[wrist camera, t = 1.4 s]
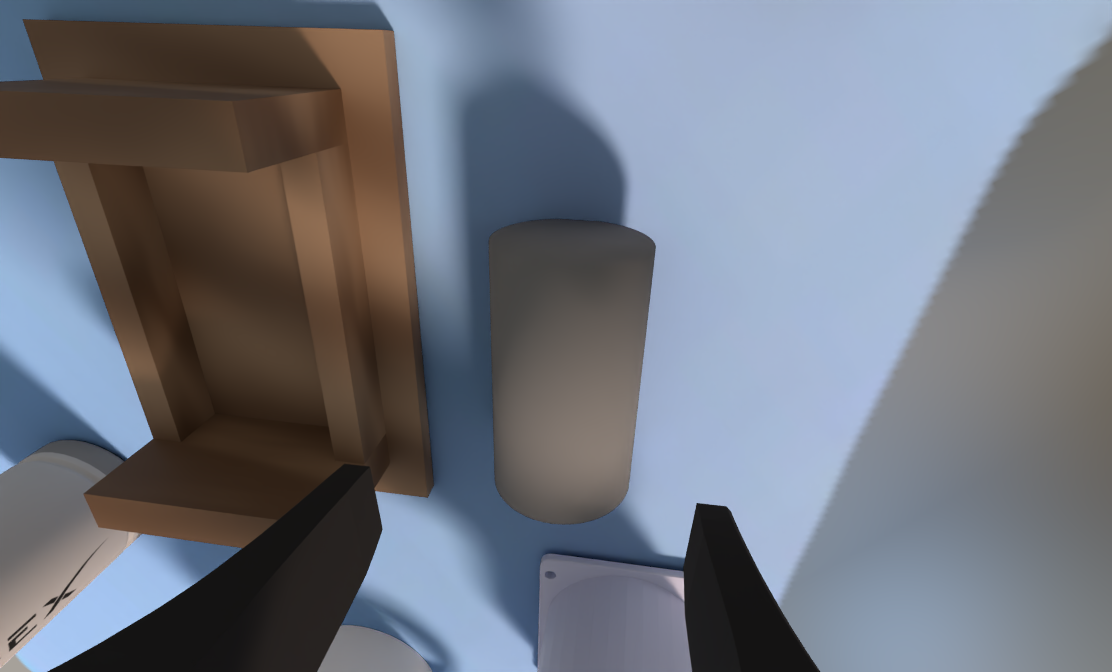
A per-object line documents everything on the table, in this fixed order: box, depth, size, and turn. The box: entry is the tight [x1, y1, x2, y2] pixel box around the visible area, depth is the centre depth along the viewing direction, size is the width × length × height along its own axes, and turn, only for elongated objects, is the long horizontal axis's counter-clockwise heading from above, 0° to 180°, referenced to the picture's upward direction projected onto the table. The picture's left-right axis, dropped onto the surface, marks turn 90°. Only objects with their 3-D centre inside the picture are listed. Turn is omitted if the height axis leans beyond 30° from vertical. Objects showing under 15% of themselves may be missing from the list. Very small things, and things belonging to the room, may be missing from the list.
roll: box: [489, 219, 656, 525], centre depth 19 cm, size 9×5×5 cm, turn 178°
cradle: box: [0, 19, 434, 548], centre depth 19 cm, size 18×12×6 cm, turn 178°
